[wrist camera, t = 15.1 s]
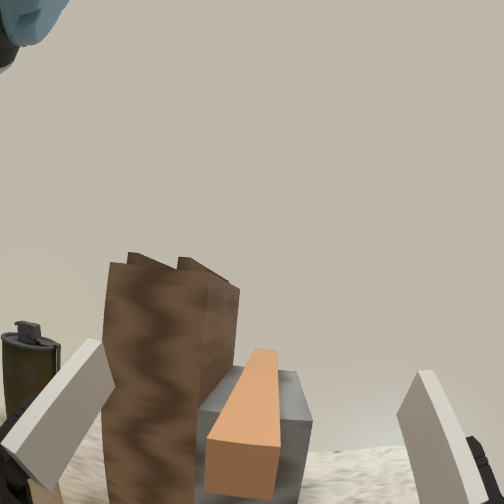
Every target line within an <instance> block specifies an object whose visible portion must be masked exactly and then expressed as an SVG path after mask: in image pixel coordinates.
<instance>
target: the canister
mask: <svg viewBox="0 0 504 504" xmlns="http://www.w3.org/2000/svg"><path fill="white" fill-rule="evenodd" d="M14 324H15V325H18V333H14V332H8V333H3V334H2V335H1V339H2V362H3V383H4V395H5V405H6V414H7V419H8V417H9V416H10V415H11V414H13V411H14V410H15V409H16V408H18V405H19V404H20V403H21V402H22V401H23V399H24V398H25V397H27V396H28V395H30V394H32V393H33V392H37V393H39V394H40V393H41V392H42V390H43V389H44V388H45V387H46V386H47V384H48V383H49V382H50V381H51V380H52V379H53V377H54V376H55V375H56V350H57V373H58V372H59V370H60V352H61V351H60V350H61V345H60V344H59V343H56V342H55V341H53V340H51V339H48V338H46V337H42V336H41V330H40V325H39V324H35V323H30V322H26V321H18V322H15V323H14Z"/></svg>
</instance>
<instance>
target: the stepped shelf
mask: <svg viewBox="0 0 504 504" xmlns="http://www.w3.org/2000/svg"><path fill="white" fill-rule="evenodd" d="M239 294H240V289H238V288H237V287H235V286H233V285H231V284H230V283H229V281H228V280H226V279H224V278H223V277H221V276H219V275H218V274H216V273H214V272H213V271H211V270H210V269H208V268H206V267H204V266H203V265H201V264H200V263H198V262H197V261H195V260H193V259H192V258H189V257H178V264H177V269H174V268H172V267H170V266H167V265H165V264H162V263H160V262H158V261H156V260H153V259H151V258H148V257H146V256H144V255H142V254H139V253H132V252H128V258H127V264H123V263H113V262H110V267H109V275H108V283H107V291H106V300H105V310H104V323H103V336H102V342H103V346H104V350H105V354H106V357H107V361H108V364H109V368H110V371H111V374H112V377H113V381H114V384H115V388H114V390H113V391H112V393H111V394H110V396H109V398H108V399H107V401H106V402H105V404H104V406H103V407H102V409H101V421H102V440H103V453H104V464H105V473H106V482H107V489H108V496H109V503H110V504H297V502H298V497H299V493H300V488H301V483H302V478H303V473H304V468H305V463H306V458H307V452H308V447H309V441H310V435H311V429H312V422H313V420H312V417H311V414H310V411H309V408H308V405H307V402H306V399H305V396H304V393H303V390H302V387H301V384H300V381H299V378H298V375H297V372H296V371H284V370H278V386H279V411H280V440H281V448H280V455H279V462H278V468H277V474H276V480H275V486H274V492H273V498H272V500H265V499H253V498H244V497H235V496H228V495H221V494H215V493H209V492H204V474H205V456H206V439H207V437H208V435H209V433H210V431H211V429H212V428H213V426H214V424H215V422H216V420H217V419H218V417H219V415H220V413H221V411H222V410H223V408H224V406H225V404H226V402H227V400H228V399H229V397H230V395H231V393H232V391H233V389H234V387H235V386H236V384H237V382H238V380H239V378H240V376H241V374H242V372H243V370H244V369H245V367H240V366H233V358H234V347H235V336H236V326H237V315H238V305H239Z"/></svg>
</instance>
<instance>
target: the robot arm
mask: <svg viewBox="0 0 504 504" xmlns="http://www.w3.org/2000/svg"><path fill="white" fill-rule="evenodd" d="M68 2H69V0H0V74H1V73H2V72H4V71H5V70H7V69H8V68H9V67H11V65H12V63H13V62H14V60H15V57H16V55H17V52H18V50H19V48H20V46H22V47H26V46H27V45H35V44H37V43H39V42H40V41H41V40H43V38H45V37H46V35H47V34H48V33H49V32H50V30H51V29H52V28H53V26H54V24H55V23H56V21H57V19H58V17H59V15H60V13H61V11H62V9H64V8H65V6H66V5H67V3H68ZM114 388H115V384H114V381H113V377H112V374H111V371H110V368H109V364H108V361H107V357H106V354H105V350H104V346H103V342H102V341H98V340H94V339H90V338H88V339H87V340H86V341H85V342H84V343H83V344H82V345H81V347H80V348H79V349H78V350H77V351H76V352H75V353H74V354H73V356H72V357H71V358H70V359H69V360H68V361H67V362H66V364H65V365H64V366H63V367H62V368H61V369H60V370H59V372H58V373H57V374H56V375H55V376H54V377H53V379H52V380H51V381H50V382H49V383H48V384H47V386H46V387H45V388H44V389H43V390H42V392H41V393H40V394H39V393H37V392H33V393H32V394H30V395H28V396H27V397H25V398H24V399H23V401H22V402H21V403H20V404H19V405H18V408H16V409H15V410H14V411H13V414H11V415H10V416H9V417H8V419H7V420H6V421H5V422H4V424H3V425H2V426H1V427H0V504H33V500H32V495H31V490H30V486H29V483H28V481H27V480H28V478H29V477H30V478H31V479H32V480H33V481H34V482H35V483H36V484H37V485H39V486H40V487H42V488H44V489H45V490H47V491H49V492H52V490H53V489H54V487H55V485H56V483H57V482H58V480H59V478H60V476H61V475H62V473H63V471H64V470H65V468H66V466H67V464H68V463H69V461H70V459H71V458H72V456H73V454H74V453H75V451H76V449H77V448H78V446H79V444H80V443H81V441H82V439H83V438H84V436H85V434H86V433H87V431H88V430H89V428H90V426H91V425H92V423H93V421H94V420H95V418H96V417H97V415H98V413H99V412H100V410H101V409H102V407H103V406H104V404H105V402H106V401H107V399H108V398H109V396H110V394H111V393H112V391H113V390H114ZM397 418H398V421H399V424H400V428H401V431H402V434H403V438H404V441H405V445H406V449H407V452H408V456H409V460H410V464H411V467H412V471H413V475H414V479H415V484H416V488H417V492H418V496H419V501H420V504H504V497H503V496H502V495H501V493H500V491H499V488H498V485H497V482H496V480H495V477H494V474H493V472H492V469H491V467H490V465H488V463H489V462H488V460H487V457H485V453H484V450H483V448H482V446H481V444H480V443H479V442H478V441H477V440H476V439H475V438H474V437H473V436H470V437H466V438H465V436H464V434H463V432H462V429H461V427H460V425H459V423H458V420H457V418H456V416H455V414H454V412H453V410H452V407H451V405H450V403H449V401H448V399H447V397H446V395H445V393H444V391H443V389H442V387H441V385H440V383H439V381H438V379H437V377H436V375H435V373H434V371H433V370H423V371H417V374H416V376H415V378H414V380H413V382H412V384H411V386H410V389H409V391H408V393H407V395H406V397H405V399H404V401H403V403H402V405H401V407H400V409H399V410H398V412H397Z"/></svg>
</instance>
